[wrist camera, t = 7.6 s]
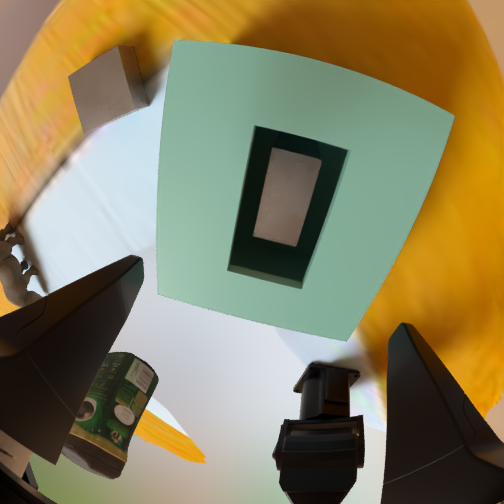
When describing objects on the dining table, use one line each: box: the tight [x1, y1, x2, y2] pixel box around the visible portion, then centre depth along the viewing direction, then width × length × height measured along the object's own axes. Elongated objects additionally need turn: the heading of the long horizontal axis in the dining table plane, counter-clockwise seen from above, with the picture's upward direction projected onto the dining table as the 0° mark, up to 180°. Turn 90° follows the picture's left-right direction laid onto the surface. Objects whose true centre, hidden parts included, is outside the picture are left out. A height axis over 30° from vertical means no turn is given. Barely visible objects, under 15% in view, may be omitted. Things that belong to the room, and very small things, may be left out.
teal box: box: [156, 40, 455, 342], centre depth 16 cm, size 14×12×7 cm
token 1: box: [68, 46, 150, 133], centre depth 16 cm, size 5×5×2 cm
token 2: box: [253, 131, 322, 247], centre depth 16 cm, size 5×2×5 cm, turn 170°
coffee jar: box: [61, 352, 159, 479], centre depth 31 cm, size 10×8×19 cm
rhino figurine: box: [0, 224, 42, 308], centre depth 28 cm, size 4×14×6 cm, turn 5°
